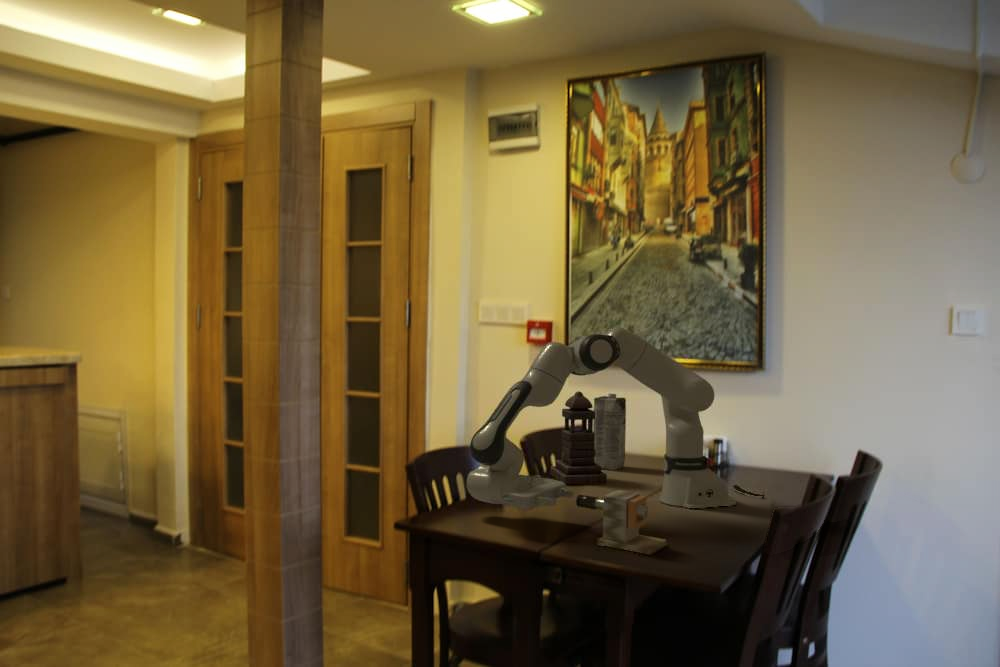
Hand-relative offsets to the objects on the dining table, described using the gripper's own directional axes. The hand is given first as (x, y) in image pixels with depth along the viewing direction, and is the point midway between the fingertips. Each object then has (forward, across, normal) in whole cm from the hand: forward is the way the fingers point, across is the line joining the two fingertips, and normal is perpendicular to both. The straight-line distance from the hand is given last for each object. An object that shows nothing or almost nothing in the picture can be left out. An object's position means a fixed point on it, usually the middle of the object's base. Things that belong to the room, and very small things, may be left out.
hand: (564, 498), depth 213 cm
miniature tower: (-28, +58, +9) cm, 65 cm away
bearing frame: (+20, 0, +9) cm, 21 cm away
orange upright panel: (+21, 0, +4) cm, 21 cm away
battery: (-28, +81, +9) cm, 86 cm away
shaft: (+14, 0, +1) cm, 14 cm away
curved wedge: (+26, +74, +10) cm, 79 cm away
